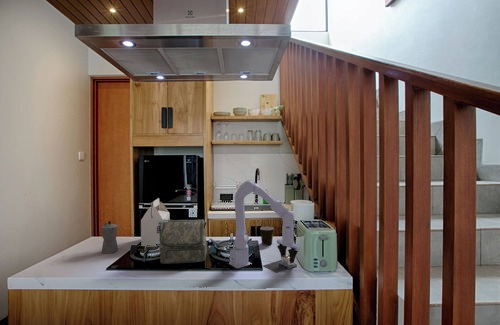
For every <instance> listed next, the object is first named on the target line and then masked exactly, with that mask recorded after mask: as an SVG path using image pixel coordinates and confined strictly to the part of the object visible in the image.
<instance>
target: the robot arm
mask: <svg viewBox="0 0 500 325" xmlns="http://www.w3.org/2000/svg"><path fill="white" fill-rule="evenodd" d="M252 192H253V193H252ZM251 193H252V194H253V195H257V196H259V197H261V198H262V199H263V200H264V201H265V202H267V203H268V204H269V205H270V206H269V207H270V209H271V210H272V211H273V212H274V213H275V214H276V215H277V216H278V217H280V218H281V220H282V226H281V228H282V230H281V232H282V233H281V234H282V238H281V239H280V238H279V239H276V244H278V245H277V249H278V251H279V253H280V258H281V259H282V256H283V255H287V251H288V255H290V263H295V261H296V260H295V259H296V256H297V254H298V253H299V251H300V250H301V249H300V248H301V247H300V246H299V245H298V244H296V242H295V241H294V239H295V238H294V236H295V235H294V230H295V229H294V228H295V226H294V221H295V216H294V212H293V211H292V210H291V209H290V208H288V207H286V205H284V204H283V202H282V200H278V199H276V200H275V199H274V198H273V197H272V196H271V195H270V194H269V193H268V192H267V191H266V190H265V189H263V187H262V186H261V185H259V184H258V183H256V182H255V181H254V180H253V179H248V180H246V181H244V182H243V183H242V184H240V185H239V187H238V189H237V190H236V192H235V194H234V209H235V211H234V214H235V227H236V228H235V230H236V231H235V239H234V241H233V245H234V246H233V248H232V249H230V251H229V263H228V265H230V266H232V267H234V268H236V269H241V268H244V267H247V266H250V264H251V265H252V264H253V263H252V262H250V261H249V245H248V242H249V240H250V238H249V235H248V232H247V228H246V213H245V210H246V209H245V198H246V196H248V195H249V194H251ZM287 248H290V249H287Z"/></svg>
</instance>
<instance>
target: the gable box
mask: <svg viewBox="0 0 500 325" xmlns="http://www.w3.org/2000/svg"><path fill="white" fill-rule="evenodd" d="M164 219H165V220H171V219H170V212H169V211H168V208H167V207H166V206H165V204H164V203H163V202H162V201H160V198H159V197H157V198H156V199H155V200H152V202H150V207H149V208H147V211H146V212H145V213H144V215H143V216H142V218H141V219H140V245H141V246H147V245H156V244H160V233H157V226H160V224H159V222H160V221H161V222H162V221H163V220H164Z"/></svg>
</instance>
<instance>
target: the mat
mask: <svg viewBox="0 0 500 325" xmlns="http://www.w3.org/2000/svg"><path fill="white" fill-rule="evenodd" d="M281 262H282V259H279V260H276V261H273V262H270V263H267V264H264V265H262V267H263V268H265V269H267V270H270V271H271V272H273V273H276V274H278V273H281V272H284V271H287V270H288V269H286V268H283V267H281V266H279V263H281Z"/></svg>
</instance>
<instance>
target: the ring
mask: <svg viewBox="0 0 500 325" xmlns="http://www.w3.org/2000/svg"><path fill="white" fill-rule="evenodd" d="M286 256H290V255H289V254H286V255H283V256H282V258H281V260H282V264H283V265H287V266H290V265H293V264H294V263H295V262H294V263H290V258H285V257H286Z"/></svg>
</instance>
